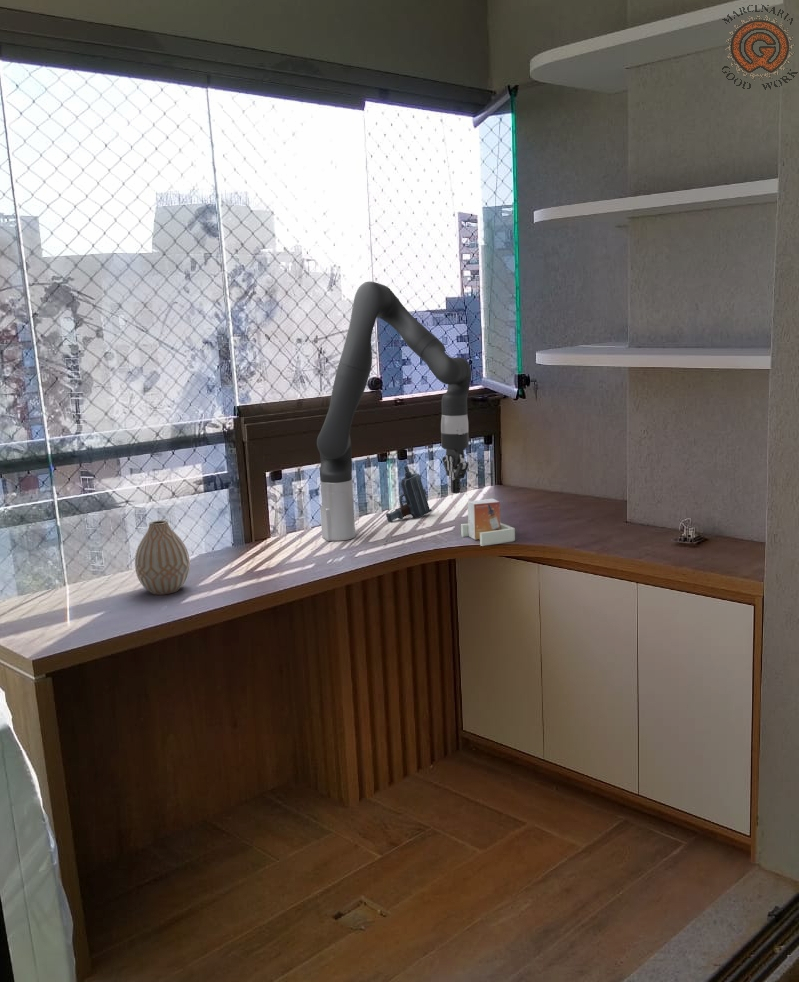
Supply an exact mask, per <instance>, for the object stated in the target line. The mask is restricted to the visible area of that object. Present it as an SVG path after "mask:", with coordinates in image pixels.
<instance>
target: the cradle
mask: <svg viewBox="0 0 799 982" xmlns="http://www.w3.org/2000/svg"><path fill="white" fill-rule="evenodd" d="M460 529H461V530H460V534H461V535H460V536H461V537H462V538H464V537H469V534H468V522H467V523H461V524H460ZM515 531H516V529H515V527H512V526H511V525H508V524H505V523H502V522H500V530H495V531H488V532H482V533H480V539H479V546H480V547H481V546H482V547H484V546H491V545H498V544H504V543H511V542H514V541H515V540H516V533H515Z"/></svg>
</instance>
